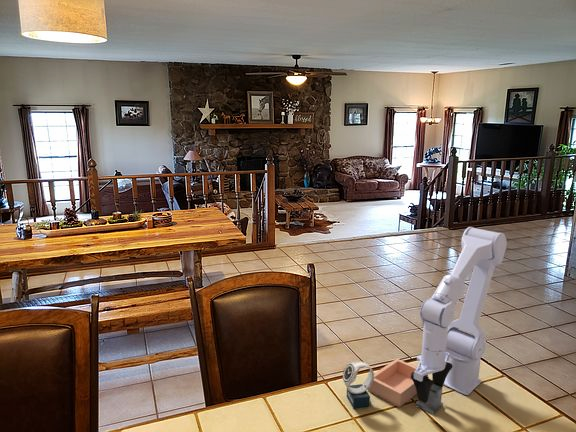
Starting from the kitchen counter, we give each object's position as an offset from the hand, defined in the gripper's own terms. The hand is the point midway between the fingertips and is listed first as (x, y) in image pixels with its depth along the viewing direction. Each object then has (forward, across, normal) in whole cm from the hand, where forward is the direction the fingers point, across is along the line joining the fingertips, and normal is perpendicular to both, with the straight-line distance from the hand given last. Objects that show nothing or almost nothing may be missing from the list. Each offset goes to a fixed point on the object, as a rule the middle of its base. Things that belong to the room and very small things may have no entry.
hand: (429, 394), depth 115 cm
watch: (+4, +12, -14) cm, 19 cm away
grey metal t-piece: (+3, 0, 0) cm, 4 cm away
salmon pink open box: (+3, -1, -10) cm, 11 cm away
